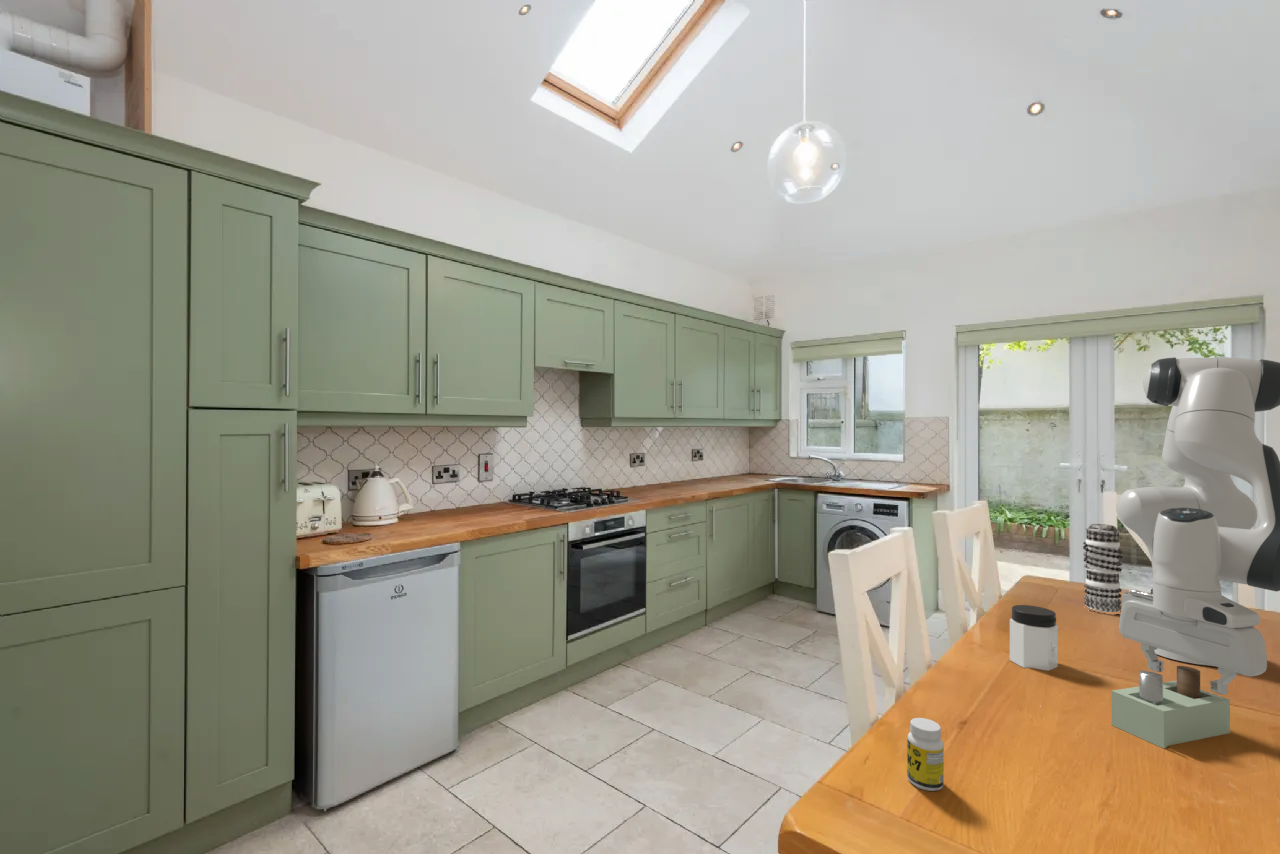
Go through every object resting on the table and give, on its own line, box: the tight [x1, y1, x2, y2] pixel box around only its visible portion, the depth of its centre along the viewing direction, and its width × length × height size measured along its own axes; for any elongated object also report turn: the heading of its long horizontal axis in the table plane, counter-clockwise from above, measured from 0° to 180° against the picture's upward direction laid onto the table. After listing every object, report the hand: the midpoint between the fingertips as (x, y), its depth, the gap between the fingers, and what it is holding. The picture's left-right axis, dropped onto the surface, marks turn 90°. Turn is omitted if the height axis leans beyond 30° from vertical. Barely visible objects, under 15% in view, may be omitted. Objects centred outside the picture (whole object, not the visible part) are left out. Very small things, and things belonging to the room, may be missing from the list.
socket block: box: [1111, 680, 1231, 749], centre depth 101 cm, size 16×8×6 cm, turn 107°
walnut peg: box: [1176, 665, 1201, 699], centre depth 102 cm, size 3×3×10 cm
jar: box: [1009, 604, 1059, 672], centre depth 130 cm, size 9×8×12 cm
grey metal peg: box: [1138, 670, 1164, 706], centre depth 100 cm, size 3×3×10 cm
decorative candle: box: [1082, 523, 1123, 612], centre depth 172 cm, size 9×9×25 cm
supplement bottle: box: [906, 717, 945, 792], centre depth 85 cm, size 5×5×8 cm
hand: (1186, 681), depth 103 cm, fingers open, 8 cm apart
